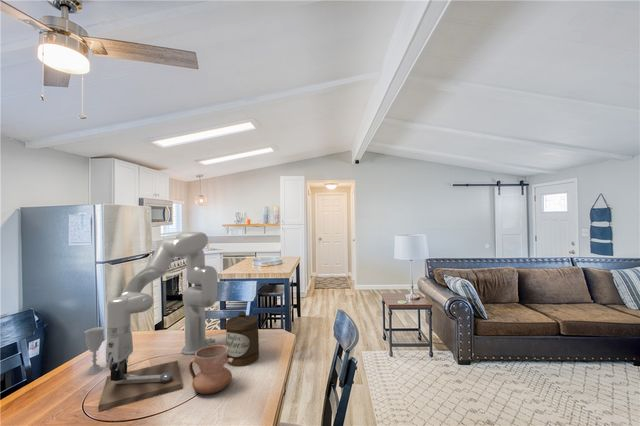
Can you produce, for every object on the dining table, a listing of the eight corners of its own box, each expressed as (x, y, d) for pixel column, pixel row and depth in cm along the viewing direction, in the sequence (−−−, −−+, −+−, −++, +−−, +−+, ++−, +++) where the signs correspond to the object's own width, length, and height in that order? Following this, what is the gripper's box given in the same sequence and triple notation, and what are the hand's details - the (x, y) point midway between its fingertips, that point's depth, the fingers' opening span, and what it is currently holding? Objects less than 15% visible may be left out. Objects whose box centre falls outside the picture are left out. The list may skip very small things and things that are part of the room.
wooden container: (219, 363, 133) (218, 314, 133) (239, 349, 147) (239, 305, 147) (246, 369, 127) (245, 318, 128) (265, 354, 141) (264, 308, 142)
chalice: (92, 376, 123) (92, 333, 124) (79, 375, 125) (79, 332, 125) (108, 368, 131) (108, 327, 131) (96, 366, 132) (96, 326, 132)
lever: (174, 376, 117) (174, 356, 118) (169, 382, 113) (169, 361, 113) (117, 379, 116) (117, 359, 116) (110, 385, 111) (110, 364, 112)
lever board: (177, 364, 132) (177, 359, 132) (181, 388, 113) (181, 382, 113) (107, 381, 119) (107, 376, 119) (98, 411, 100) (98, 404, 100)
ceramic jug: (240, 378, 120) (239, 343, 120) (225, 399, 105) (224, 359, 106) (199, 377, 122) (199, 342, 123) (178, 397, 108) (178, 358, 108)
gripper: (115, 337, 106) (115, 388, 106) (140, 322, 123) (140, 366, 122) (93, 338, 106) (93, 389, 105) (122, 322, 122) (122, 367, 122)
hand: (119, 376), depth 114 cm, fingers closed on lever, 3 cm apart
